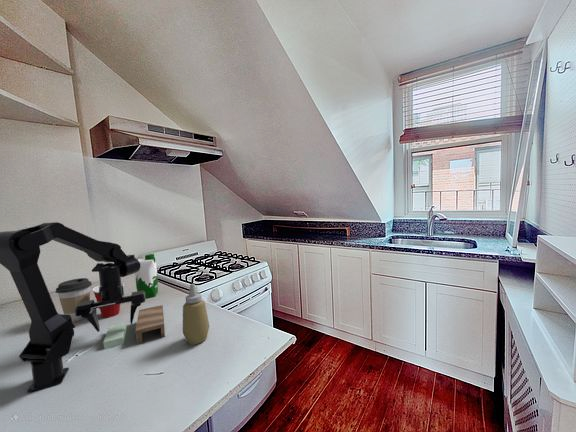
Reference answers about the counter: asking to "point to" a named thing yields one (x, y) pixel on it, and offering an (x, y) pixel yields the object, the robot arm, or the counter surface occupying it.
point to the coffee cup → (73, 295)
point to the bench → (149, 321)
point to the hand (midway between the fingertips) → (115, 327)
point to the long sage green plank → (115, 335)
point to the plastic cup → (107, 310)
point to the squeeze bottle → (195, 318)
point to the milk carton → (147, 276)
